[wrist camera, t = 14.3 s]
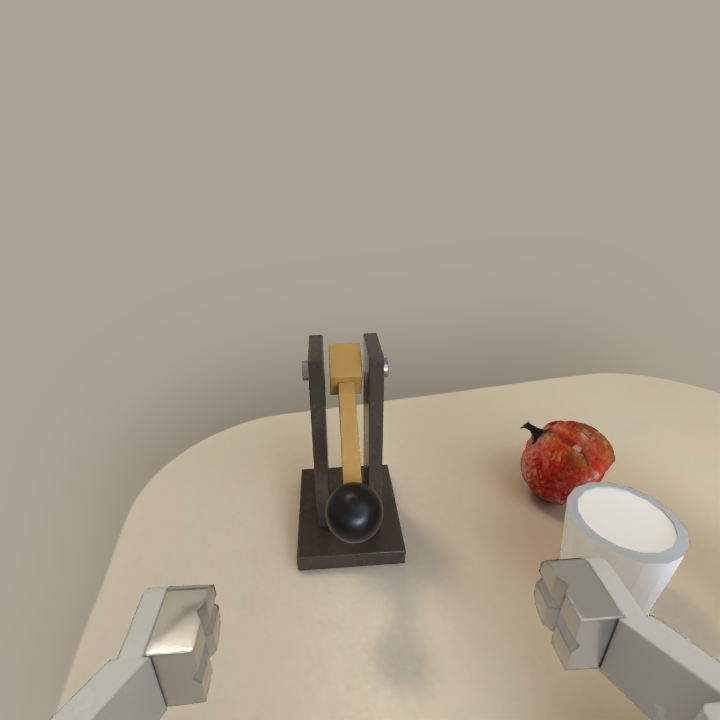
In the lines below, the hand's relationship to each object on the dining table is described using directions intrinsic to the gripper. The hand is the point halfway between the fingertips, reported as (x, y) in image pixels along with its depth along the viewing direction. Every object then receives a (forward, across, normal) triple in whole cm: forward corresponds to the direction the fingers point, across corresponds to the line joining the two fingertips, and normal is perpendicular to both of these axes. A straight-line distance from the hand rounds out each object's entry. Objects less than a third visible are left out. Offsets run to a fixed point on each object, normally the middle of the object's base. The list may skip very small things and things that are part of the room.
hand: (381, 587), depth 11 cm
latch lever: (+17, 0, +8) cm, 19 cm away
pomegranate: (+22, -20, +18) cm, 35 cm away
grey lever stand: (+21, 0, +18) cm, 28 cm away
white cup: (+12, -17, +18) cm, 28 cm away
